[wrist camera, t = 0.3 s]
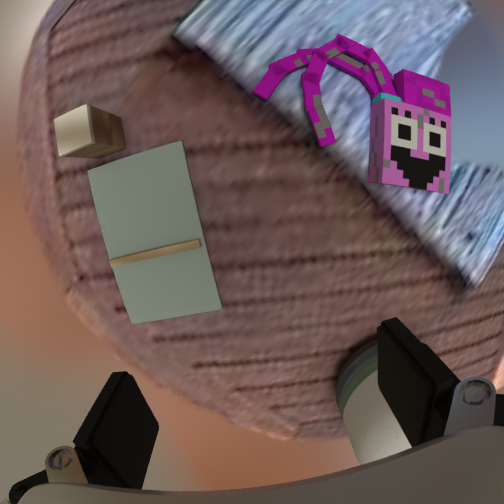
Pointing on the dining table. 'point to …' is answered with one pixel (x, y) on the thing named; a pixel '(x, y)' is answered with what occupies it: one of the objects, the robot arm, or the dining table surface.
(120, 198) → the mat
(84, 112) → the walnut block
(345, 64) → the toy
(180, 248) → the strip
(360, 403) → the vase
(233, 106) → the dining table surface
